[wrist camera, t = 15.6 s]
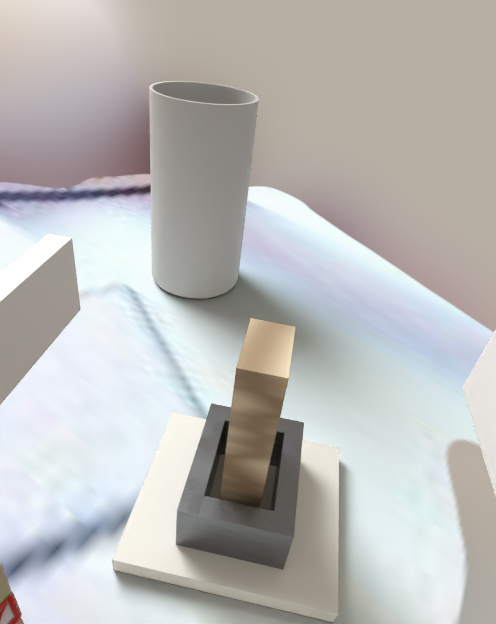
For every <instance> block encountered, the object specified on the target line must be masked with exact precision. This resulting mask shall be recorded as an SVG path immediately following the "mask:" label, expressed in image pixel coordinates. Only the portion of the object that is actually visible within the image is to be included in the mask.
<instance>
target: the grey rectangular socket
mask: <svg viewBox="0 0 496 624" xmlns="http://www.w3.org/2000/svg"><path fill="white" fill-rule="evenodd" d="M230 414H231V407H226V406H221V405H216V404H211V407H210V410H209V413H208V416H207V419H206V422H205V425H204V428H203V431H202V434H201V438H200V441H199V444H198V447H197V450H196V453H195V456H194V459H193V462H192V465H191V468H190V471H189V475H188V478H187V481H186V484H185V487H184V490H183V493H182V496H181V499H180V502H179V505H178V509H177V520H176V545H179V546H184V547H188V548H192V549H196V550H201V551H205V552H209V553H214V554H218V555H222V556H226V557H231V558H235V559H239V560H244V561H248V562H252V563H257V564H261V565H265V566H269V567H274V568H278V569H282V570H283V569H284V566H285V563H286V560H287V557H288V554H289V551H290V547H291V544H292V541H293V538H294V530H295V518H296V507H297V496H298V484H299V473H300V461H301V450H302V439H303V427H304V423H303V422H298V421H293V420H288V419H284V418H280V419H279V423H278V428H277V432H276V437H275V441H274V445H273V450H272V454H271V459H270V463H269V465H272V466H276V473H275V481H274V488H273V495H272V502H271V509H270V510H266V509H261V508H257V507H252V506H248V505H243V504H239V503H234V502H230V501H226V500H221V499H217V498H212V497H210V493H211V489H212V486H213V482H214V478H215V474H216V471H217V467H218V463H219V459H220V456H221V455H225V453H226V445H227V437H228V429H229V422H230Z"/></svg>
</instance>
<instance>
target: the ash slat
mask: <svg viewBox="0 0 496 624" xmlns="http://www.w3.org/2000/svg"><path fill="white" fill-rule="evenodd" d="M295 329H296V327H295V326H290V325H285V324H279V323H274V322H269V321H264V320H258V319H253V318H251V319H250V323H249V326H248V330H247V333H246V336H245V340H244V343H243V347H242V350H241V354H240V357H239V361H238V364H237V368H236V375H235V383H234V391H233V399H232V406H231V414H230V422H229V429H228V437H227V445H226V453H225V460H224V468H223V476H222V483H221V491H220V499H221V500H226V501H230V502H234V503H239V504H243V505H248V506H252V507H257V508H260V503H261V499H262V494H263V490H264V486H265V481H266V477H267V472H268V468H269V463H270V459H271V454H272V450H273V445H274V441H275V437H276V432H277V428H278V423H279V419H280V414H281V410H282V405H283V401H284V396H285V392H286V388H287V383H288V379H289V372H290V364H291V357H292V350H293V343H294V336H295Z"/></svg>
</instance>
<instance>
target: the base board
mask: <svg viewBox="0 0 496 624" xmlns="http://www.w3.org/2000/svg"><path fill="white" fill-rule="evenodd" d="M205 422H206V419H201V418H196V417H191V416H187V415H182V414H177V413H172V415H171V418H170V420H169V423H168V425H167V428H166V430H165V432H164V435H163V437H162V440H161V442H160V445H159V447H158V449H157V452H156V454H155V457H154V459H153V462H152V464H151V466H150V469H149V471H148V474H147V476H146V479H145V481H144V483H143V486H142V488H141V491H140V493H139V496H138V498H137V500H136V503H135V505H134V508H133V510H132V513H131V515H130V517H129V520H128V522H127V525H126V527H125V530H124V532H123V534H122V537H121V539H120V542H119V544H118V547H117V549H116V551H115V554H114V556H113V559H112V563H113V570H116V571H120V572H124V573H128V574H133V575H137V576H141V577H145V578H149V579H154V580H158V581H162V582H166V583H170V584H174V585H179V586H183V587H187V588H191V589H195V590H199V591H204V592H208V593H212V594H216V595H220V596H224V597H229V598H233V599H237V600H241V601H245V602H250V603H254V604H258V605H262V606H266V607H270V608H275V609H279V610H283V611H287V612H291V613H295V614H300V615H304V616H308V617H312V618H316V619H320V620H325V621H329V622H333V623H334V621H335V619H336V617H337V615H338V598H339V447H334V446H329V445H325V444H320V443H315V442H310V441H306V440H302V450H301V461H300V473H299V484H298V496H297V507H296V518H295V530H294V538H293V541H292V544H291V547H290V551H289V554H288V557H287V560H286V563H285V566H284V569H283V570H282V569H278V568H274V567H269V566H265V565H261V564H257V563H252V562H248V561H244V560H239V559H235V558H231V557H226V556H222V555H218V554H214V553H209V552H205V551H201V550H196V549H192V548H188V547H184V546H179V545H176V520H177V509H178V505H179V502H180V499H181V496H182V493H183V490H184V487H185V484H186V481H187V478H188V475H189V471H190V468H191V465H192V462H193V459H194V456H195V453H196V450H197V447H198V444H199V441H200V438H201V434H202V431H203V428H204V425H205ZM224 460H225V455H221V456H220V459H219V463H218V467H217V471H216V474H215V478H214V482H213V486H212V489H211V493H210V497H212V498H217V499H220V491H221V483H222V476H223V468H224ZM275 473H276V466H272V465H269V468H268V472H267V477H266V481H265V486H264V490H263V494H262V499H261V503H260V508H261V509H266V510H270V509H271V502H272V495H273V488H274V481H275Z"/></svg>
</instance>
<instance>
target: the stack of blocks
mask: <svg viewBox="0 0 496 624" xmlns="http://www.w3.org/2000/svg"><path fill="white" fill-rule="evenodd" d="M20 617H21V611H20V609H19V606H18V604H17V601H16V599H15V597H14V594H13V592H12V591H11V589H10V586H9V583H8V580H7V577H6V574H5V571H4V569H3V566H2V563H1V561H0V624H24V623H23V621H22V619H21V618H20Z"/></svg>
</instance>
